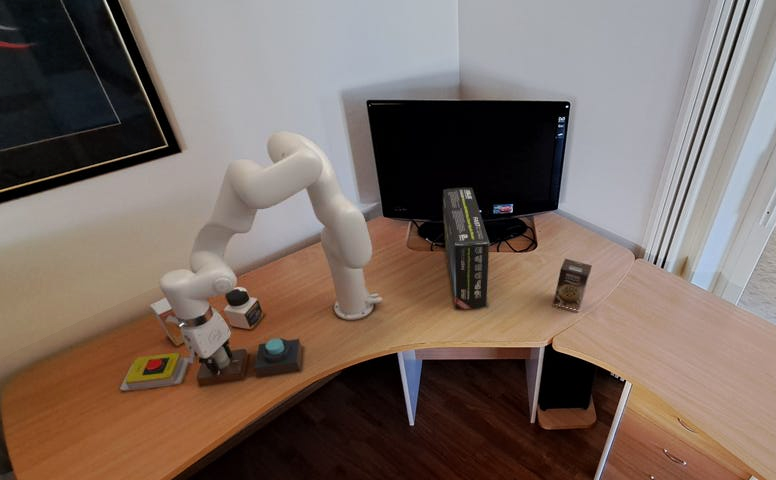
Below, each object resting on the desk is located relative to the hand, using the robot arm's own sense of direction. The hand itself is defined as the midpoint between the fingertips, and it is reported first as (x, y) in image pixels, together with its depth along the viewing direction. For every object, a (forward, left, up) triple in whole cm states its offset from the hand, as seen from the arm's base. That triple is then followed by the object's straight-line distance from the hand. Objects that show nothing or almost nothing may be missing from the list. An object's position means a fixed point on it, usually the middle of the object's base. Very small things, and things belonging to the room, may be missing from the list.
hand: (220, 361), depth 123 cm
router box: (-75, -29, -4) cm, 81 cm away
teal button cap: (-15, 0, +2) cm, 15 cm away
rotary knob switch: (0, 0, -4) cm, 4 cm away
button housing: (-15, 0, -4) cm, 15 cm away
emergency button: (+18, -2, -4) cm, 19 cm away
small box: (+14, -17, -4) cm, 22 cm away
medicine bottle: (-3, -20, -4) cm, 21 cm away
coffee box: (-107, -8, -4) cm, 107 cm away
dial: (0, 0, 0) cm, 0 cm away
